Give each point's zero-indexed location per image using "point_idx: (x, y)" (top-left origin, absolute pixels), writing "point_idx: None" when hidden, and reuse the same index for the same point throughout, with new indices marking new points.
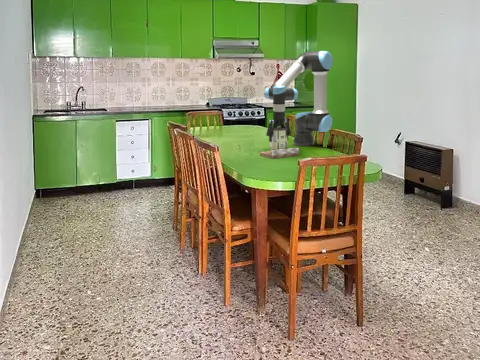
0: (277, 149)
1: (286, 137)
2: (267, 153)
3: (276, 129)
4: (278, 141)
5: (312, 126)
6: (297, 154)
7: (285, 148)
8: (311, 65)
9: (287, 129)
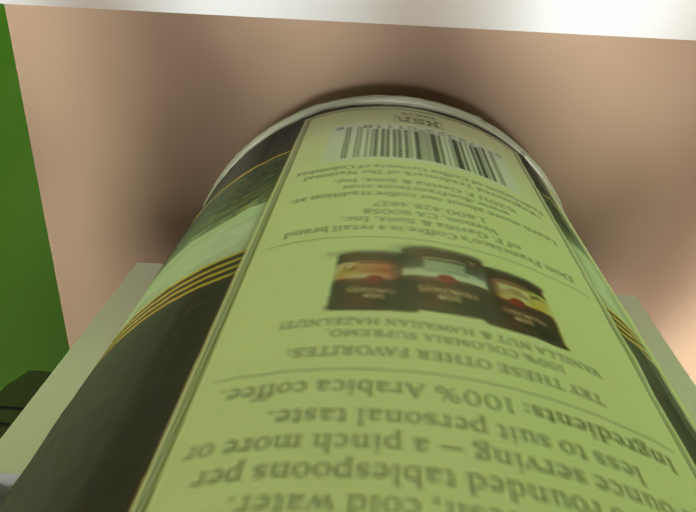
0: (538, 177)
1: (129, 327)
2: (691, 266)
3: None
4: (583, 261)
5: None
6: None
7: (300, 125)
8: None
9: None
